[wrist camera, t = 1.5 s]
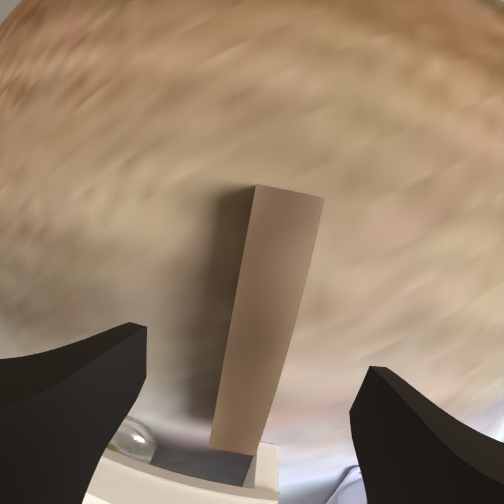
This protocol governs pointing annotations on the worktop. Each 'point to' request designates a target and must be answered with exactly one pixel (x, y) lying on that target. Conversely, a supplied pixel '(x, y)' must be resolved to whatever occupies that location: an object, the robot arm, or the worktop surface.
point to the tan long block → (264, 313)
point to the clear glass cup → (134, 441)
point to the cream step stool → (181, 483)
